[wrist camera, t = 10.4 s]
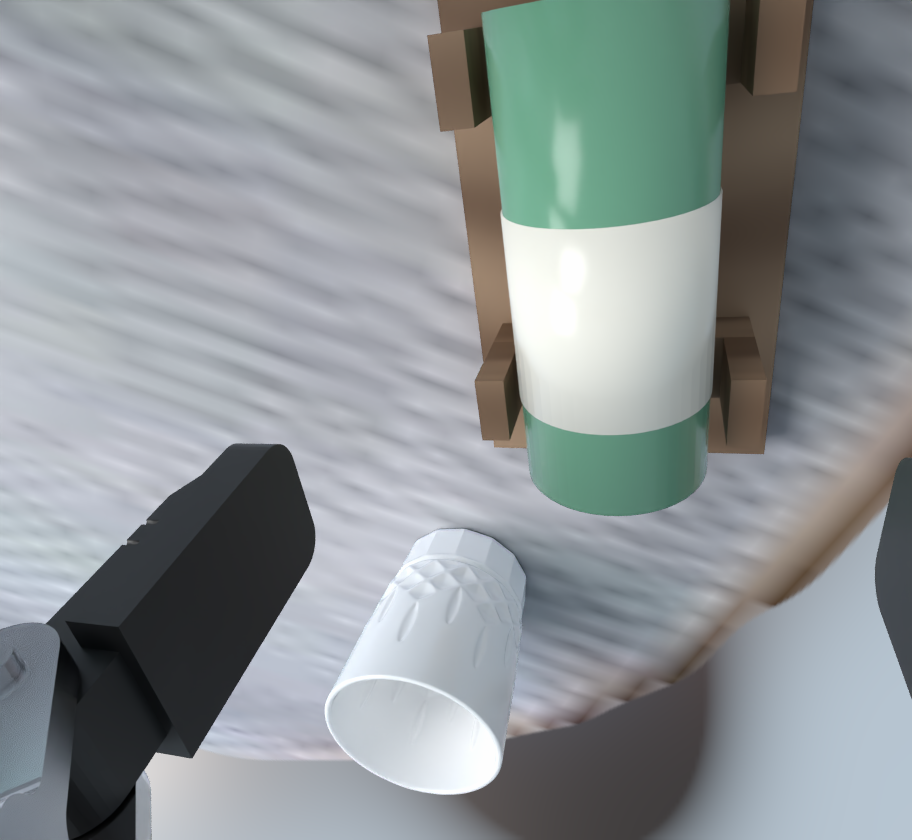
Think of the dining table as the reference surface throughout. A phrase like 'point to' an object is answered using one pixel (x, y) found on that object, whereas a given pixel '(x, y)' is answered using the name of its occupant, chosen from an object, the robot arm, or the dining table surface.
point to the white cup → (435, 667)
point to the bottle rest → (742, 219)
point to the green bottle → (611, 238)
